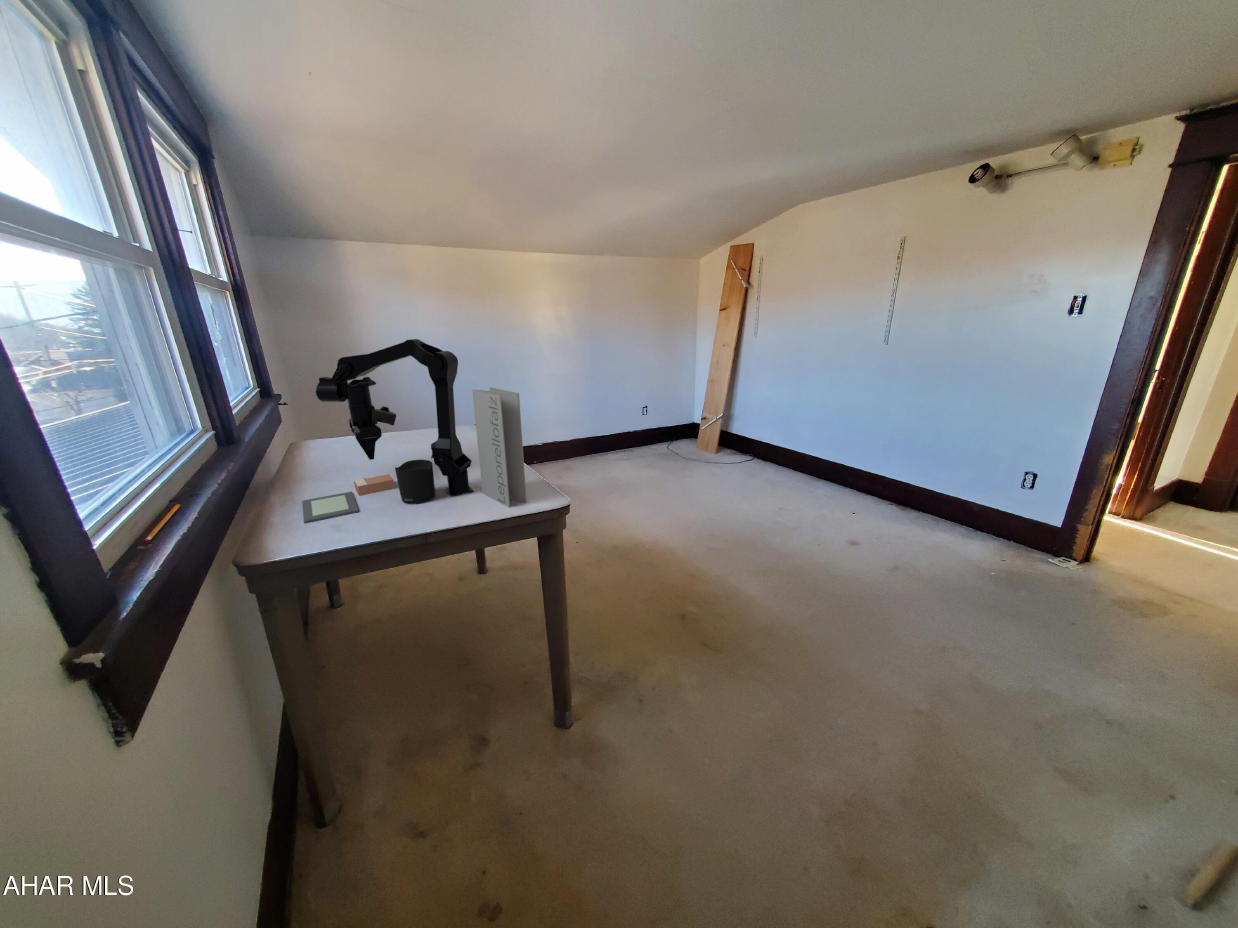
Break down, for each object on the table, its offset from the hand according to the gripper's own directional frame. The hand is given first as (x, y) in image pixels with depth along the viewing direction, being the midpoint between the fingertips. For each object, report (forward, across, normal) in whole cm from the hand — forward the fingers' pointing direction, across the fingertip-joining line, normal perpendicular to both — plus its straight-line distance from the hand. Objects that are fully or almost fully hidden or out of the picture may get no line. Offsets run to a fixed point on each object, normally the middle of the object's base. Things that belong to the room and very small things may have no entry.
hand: (369, 455), depth 133 cm
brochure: (+11, -28, -29) cm, 42 cm away
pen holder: (+11, -15, -9) cm, 20 cm away
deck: (+11, 0, 0) cm, 11 cm away
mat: (+10, -8, +12) cm, 18 cm away
